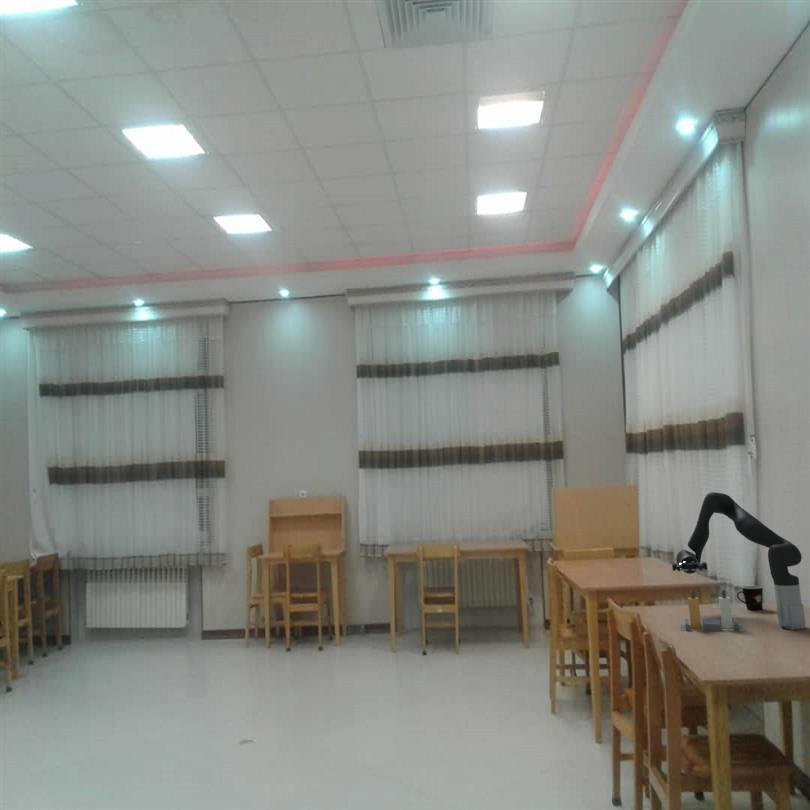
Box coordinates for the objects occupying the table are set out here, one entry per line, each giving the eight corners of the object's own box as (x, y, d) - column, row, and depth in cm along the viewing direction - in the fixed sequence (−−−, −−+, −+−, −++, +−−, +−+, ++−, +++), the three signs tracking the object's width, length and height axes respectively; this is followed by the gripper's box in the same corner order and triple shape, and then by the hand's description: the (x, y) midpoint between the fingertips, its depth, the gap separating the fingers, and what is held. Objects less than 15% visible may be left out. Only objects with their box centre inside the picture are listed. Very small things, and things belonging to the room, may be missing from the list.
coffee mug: (762, 607, 348) (760, 585, 349) (767, 611, 340) (764, 588, 341) (735, 608, 351) (733, 586, 352) (739, 611, 343) (736, 589, 344)
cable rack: (742, 627, 312) (741, 618, 312) (745, 633, 301) (744, 624, 301) (680, 627, 320) (680, 618, 320) (681, 633, 308) (680, 624, 309)
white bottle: (732, 626, 309) (728, 589, 311) (733, 628, 306) (728, 591, 307) (721, 626, 311) (717, 589, 312) (722, 628, 307) (718, 591, 308)
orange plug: (701, 626, 313) (697, 590, 315) (701, 628, 310) (697, 591, 311) (690, 626, 315) (687, 590, 316) (691, 628, 311) (687, 591, 312)
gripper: (671, 556, 343) (671, 560, 327) (705, 554, 338) (706, 559, 323) (673, 572, 342) (673, 577, 327) (707, 571, 337) (708, 576, 322)
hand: (689, 568), depth 325 cm, fingers open, 8 cm apart
